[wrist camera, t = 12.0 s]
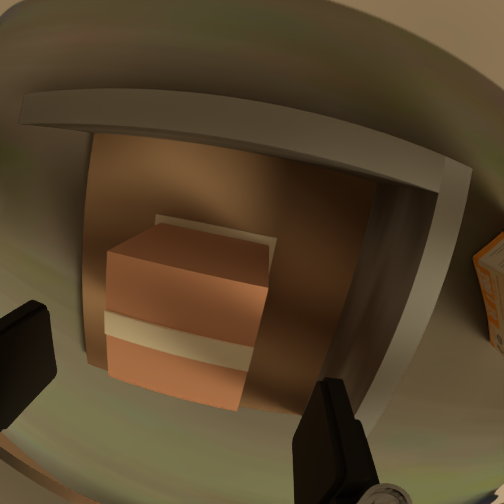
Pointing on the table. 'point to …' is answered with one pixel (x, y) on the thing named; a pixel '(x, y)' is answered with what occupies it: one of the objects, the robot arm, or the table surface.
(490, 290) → the supplement box
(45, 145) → the table surface
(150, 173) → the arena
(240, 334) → the cube
